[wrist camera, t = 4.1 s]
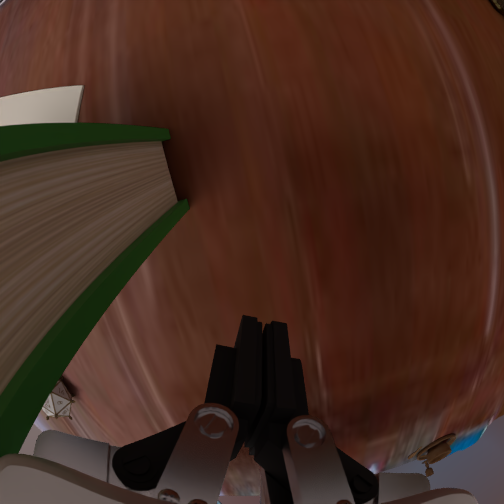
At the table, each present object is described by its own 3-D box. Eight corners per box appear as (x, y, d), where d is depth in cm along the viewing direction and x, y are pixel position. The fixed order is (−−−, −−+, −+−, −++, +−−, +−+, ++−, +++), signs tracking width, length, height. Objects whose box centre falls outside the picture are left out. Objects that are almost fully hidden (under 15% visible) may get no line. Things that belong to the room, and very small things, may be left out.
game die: (63, 365, 39) (21, 368, 30) (86, 384, 36) (40, 391, 27) (65, 403, 38) (25, 410, 29) (88, 424, 35) (46, 435, 26)
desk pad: (84, 85, 19) (82, 85, 19) (73, 281, 27) (71, 283, 27) (-11, 100, 18) (-13, 101, 18) (-13, 246, 26) (-15, 247, 26)
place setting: (467, 426, 43) (474, 441, 38) (427, 461, 51) (431, 475, 45) (426, 438, 42) (433, 456, 37) (385, 472, 50) (388, 487, 45)
